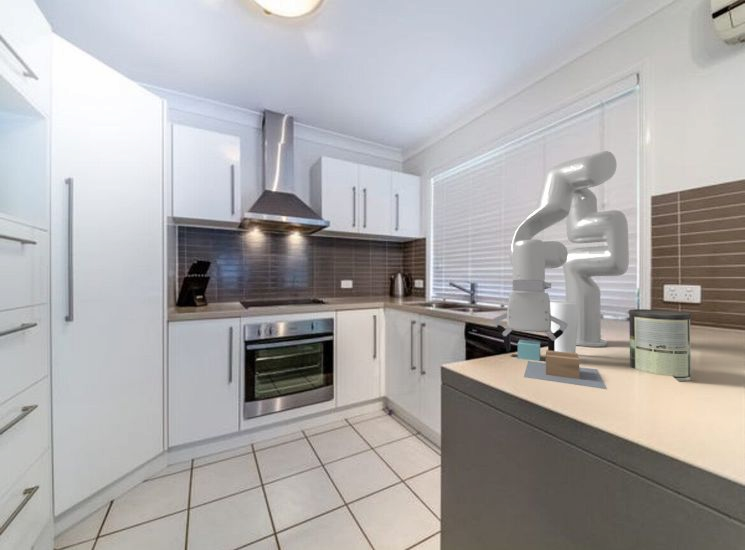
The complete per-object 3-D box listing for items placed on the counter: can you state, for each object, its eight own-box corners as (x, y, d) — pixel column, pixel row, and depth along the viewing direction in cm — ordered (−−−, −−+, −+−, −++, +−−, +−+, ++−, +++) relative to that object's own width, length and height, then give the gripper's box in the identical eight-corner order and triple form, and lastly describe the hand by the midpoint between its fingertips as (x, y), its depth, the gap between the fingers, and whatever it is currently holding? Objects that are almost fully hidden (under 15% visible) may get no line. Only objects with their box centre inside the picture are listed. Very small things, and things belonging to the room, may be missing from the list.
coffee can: (618, 366, 75) (617, 309, 75) (664, 367, 74) (663, 309, 74) (652, 380, 64) (652, 314, 64) (706, 382, 63) (705, 314, 63)
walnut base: (546, 367, 71) (546, 350, 71) (577, 371, 68) (577, 353, 68) (545, 374, 65) (545, 356, 66) (579, 379, 62) (579, 359, 62)
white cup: (544, 355, 86) (543, 301, 86) (559, 352, 89) (559, 300, 89) (568, 360, 80) (568, 303, 80) (584, 357, 82) (583, 302, 83)
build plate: (528, 364, 76) (528, 360, 76) (597, 373, 69) (597, 369, 69) (523, 381, 64) (523, 376, 64) (607, 394, 57) (606, 389, 57)
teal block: (519, 358, 83) (519, 339, 83) (540, 360, 80) (540, 341, 80) (517, 362, 79) (517, 343, 79) (539, 365, 76) (539, 345, 76)
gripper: (566, 287, 78) (567, 354, 78) (495, 286, 87) (495, 346, 87) (568, 288, 72) (568, 360, 72) (490, 286, 81) (490, 351, 81)
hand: (528, 352), depth 79 cm, fingers open, 9 cm apart
